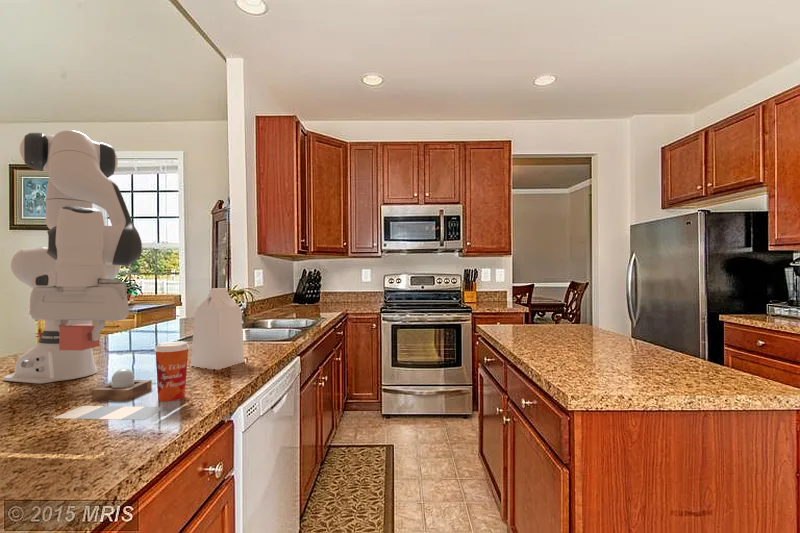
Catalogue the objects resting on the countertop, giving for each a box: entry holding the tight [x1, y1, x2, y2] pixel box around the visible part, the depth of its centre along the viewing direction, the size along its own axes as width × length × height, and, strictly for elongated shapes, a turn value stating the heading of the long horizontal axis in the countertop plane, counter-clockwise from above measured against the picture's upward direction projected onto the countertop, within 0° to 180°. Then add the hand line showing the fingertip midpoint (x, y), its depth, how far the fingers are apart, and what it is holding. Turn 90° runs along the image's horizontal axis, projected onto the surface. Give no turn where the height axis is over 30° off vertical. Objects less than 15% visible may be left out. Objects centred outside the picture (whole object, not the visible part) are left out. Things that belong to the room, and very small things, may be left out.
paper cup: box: [153, 340, 191, 402], centre depth 101 cm, size 8×8×14 cm
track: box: [53, 405, 167, 421], centre depth 91 cm, size 20×8×1 cm, turn 88°
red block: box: [59, 323, 100, 351], centre depth 91 cm, size 5×5×5 cm
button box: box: [91, 379, 153, 401], centre depth 104 cm, size 9×9×3 cm
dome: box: [111, 368, 135, 388], centre depth 104 cm, size 5×5×6 cm
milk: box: [190, 287, 245, 371], centre depth 140 cm, size 12×12×26 cm
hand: (79, 340), depth 91 cm, fingers closed on red block, 5 cm apart
